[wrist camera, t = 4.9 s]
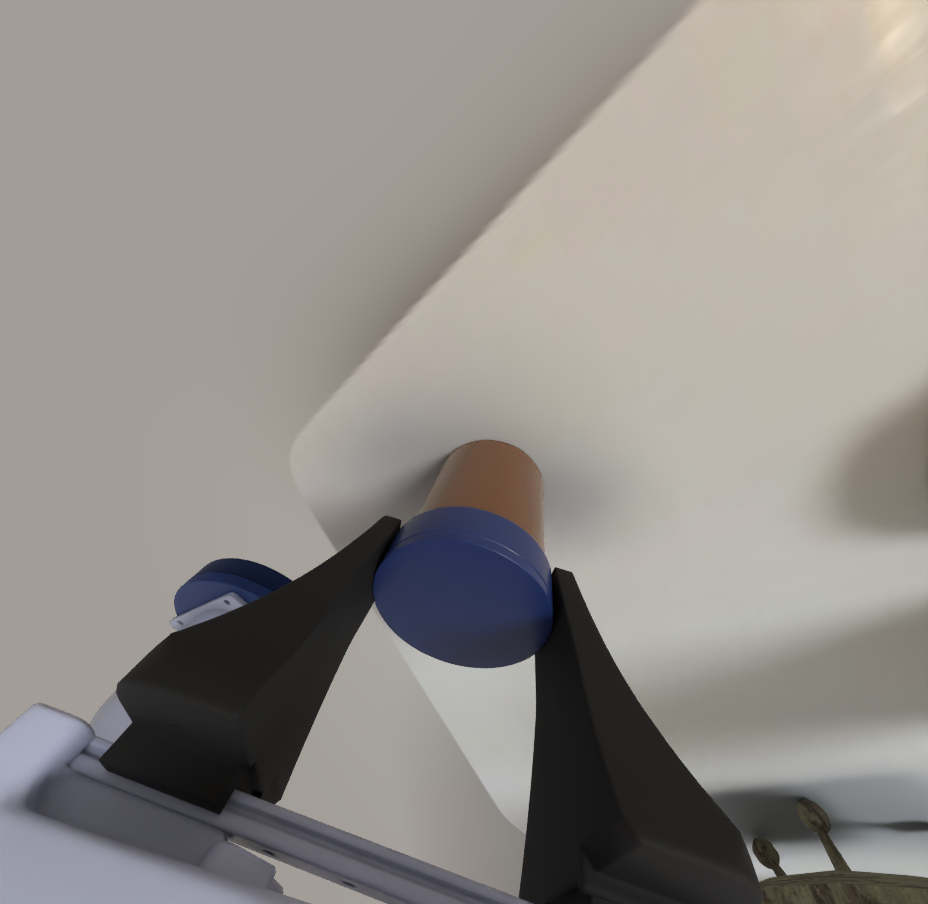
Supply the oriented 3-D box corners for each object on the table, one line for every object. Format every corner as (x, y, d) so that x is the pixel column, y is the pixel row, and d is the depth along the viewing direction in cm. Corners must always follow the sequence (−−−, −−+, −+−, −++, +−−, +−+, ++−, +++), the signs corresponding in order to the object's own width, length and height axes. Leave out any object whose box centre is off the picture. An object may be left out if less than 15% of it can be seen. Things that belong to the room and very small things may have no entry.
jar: (477, 540, 19) (447, 664, 13) (420, 468, 17) (357, 571, 11) (563, 504, 17) (576, 633, 11) (506, 420, 15) (485, 514, 9)
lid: (581, 539, 11) (587, 580, 9) (523, 644, 13) (520, 688, 12) (403, 483, 11) (382, 514, 10) (382, 597, 14) (364, 634, 12)
